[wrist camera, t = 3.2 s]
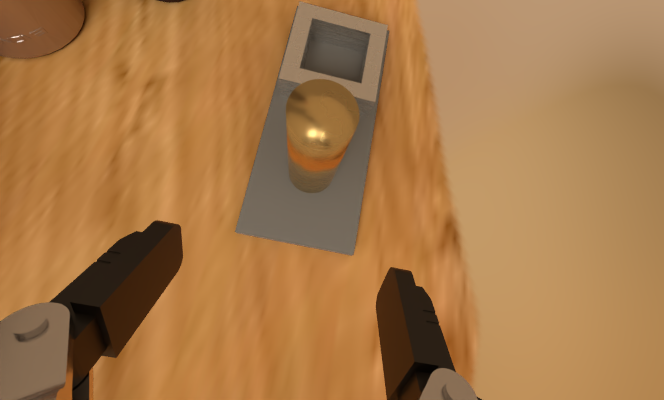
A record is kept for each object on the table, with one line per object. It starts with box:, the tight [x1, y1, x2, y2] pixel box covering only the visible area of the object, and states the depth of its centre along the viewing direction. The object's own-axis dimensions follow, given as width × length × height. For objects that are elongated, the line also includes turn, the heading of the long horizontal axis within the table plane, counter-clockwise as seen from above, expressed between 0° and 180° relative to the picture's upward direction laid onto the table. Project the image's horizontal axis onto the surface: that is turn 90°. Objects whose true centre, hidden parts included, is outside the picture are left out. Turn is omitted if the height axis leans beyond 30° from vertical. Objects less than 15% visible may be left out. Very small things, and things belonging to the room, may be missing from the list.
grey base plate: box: [235, 6, 389, 255], centre depth 26 cm, size 24×10×1 cm, turn 169°
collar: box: [279, 2, 388, 117], centre depth 26 cm, size 9×9×2 cm
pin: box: [286, 79, 360, 193], centre depth 20 cm, size 4×4×10 cm
